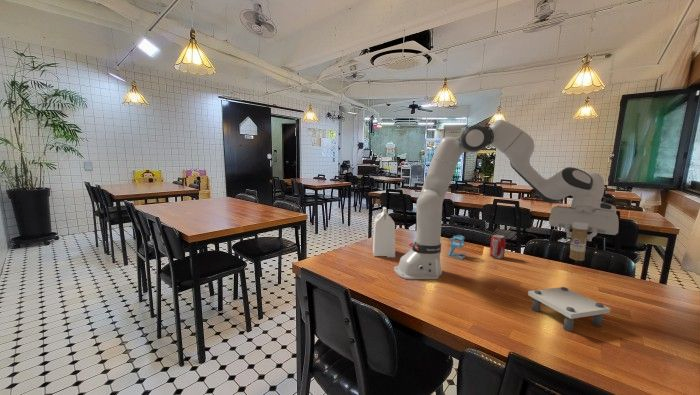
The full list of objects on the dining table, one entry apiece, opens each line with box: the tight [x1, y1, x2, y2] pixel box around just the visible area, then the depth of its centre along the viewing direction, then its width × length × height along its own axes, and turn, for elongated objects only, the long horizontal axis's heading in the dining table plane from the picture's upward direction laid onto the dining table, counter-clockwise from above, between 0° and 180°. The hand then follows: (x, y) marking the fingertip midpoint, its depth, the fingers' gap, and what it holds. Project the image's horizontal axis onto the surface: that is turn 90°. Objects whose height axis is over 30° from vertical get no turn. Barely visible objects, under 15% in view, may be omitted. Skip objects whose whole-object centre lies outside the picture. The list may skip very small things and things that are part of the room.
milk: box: [372, 206, 396, 258], centre depth 162 cm, size 12×12×26 cm
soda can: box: [489, 234, 506, 260], centre depth 159 cm, size 7×7×12 cm
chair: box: [447, 234, 467, 260], centre depth 160 cm, size 8×8×12 cm
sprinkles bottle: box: [569, 222, 589, 262], centre depth 106 cm, size 5×5×14 cm
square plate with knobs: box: [527, 286, 612, 332], centre depth 100 cm, size 16×16×7 cm
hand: (578, 238), depth 105 cm, fingers closed on sprinkles bottle, 4 cm apart
